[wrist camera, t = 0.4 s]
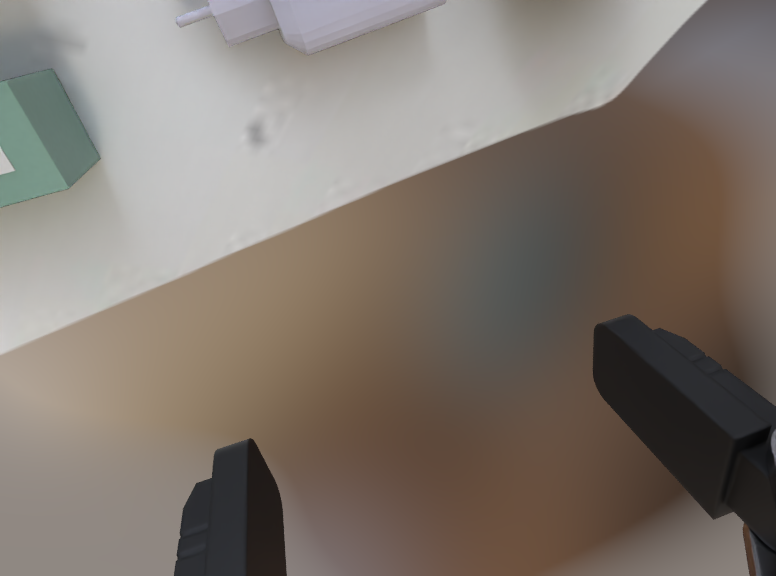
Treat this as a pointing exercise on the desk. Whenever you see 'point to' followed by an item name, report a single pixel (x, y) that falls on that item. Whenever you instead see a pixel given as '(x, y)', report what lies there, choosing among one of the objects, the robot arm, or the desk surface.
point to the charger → (305, 19)
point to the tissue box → (40, 139)
